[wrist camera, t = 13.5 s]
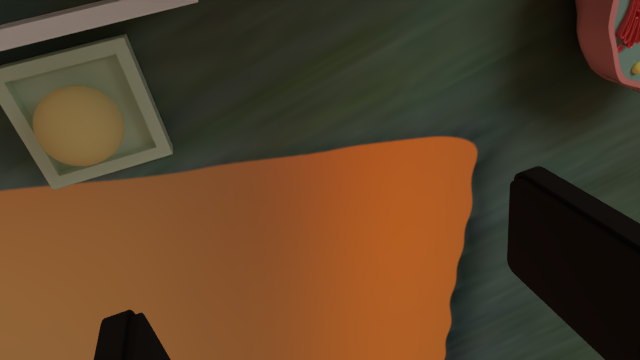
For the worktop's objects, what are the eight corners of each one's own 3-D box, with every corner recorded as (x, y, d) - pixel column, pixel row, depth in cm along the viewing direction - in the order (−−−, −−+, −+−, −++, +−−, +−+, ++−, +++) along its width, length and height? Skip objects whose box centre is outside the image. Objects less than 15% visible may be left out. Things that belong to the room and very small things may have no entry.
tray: (125, 33, 34) (123, 37, 32) (172, 146, 39) (172, 154, 37) (-10, 67, 32) (-19, 73, 31) (57, 180, 37) (52, 190, 36)
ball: (110, 67, 34) (94, 89, 29) (141, 135, 37) (132, 166, 32) (31, 87, 33) (1, 113, 28) (69, 155, 36) (48, 190, 31)
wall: (190, -21, 33) (192, -17, 29) (195, -5, 34) (198, 2, 30) (-92, 46, 30) (-136, 62, 26) (-81, 63, 31) (-121, 81, 27)
